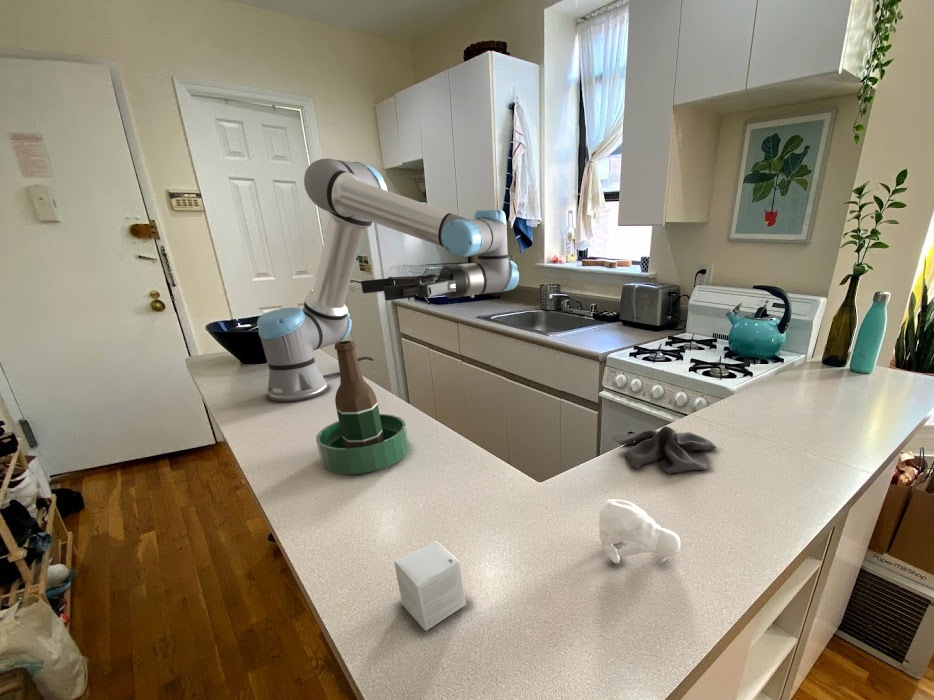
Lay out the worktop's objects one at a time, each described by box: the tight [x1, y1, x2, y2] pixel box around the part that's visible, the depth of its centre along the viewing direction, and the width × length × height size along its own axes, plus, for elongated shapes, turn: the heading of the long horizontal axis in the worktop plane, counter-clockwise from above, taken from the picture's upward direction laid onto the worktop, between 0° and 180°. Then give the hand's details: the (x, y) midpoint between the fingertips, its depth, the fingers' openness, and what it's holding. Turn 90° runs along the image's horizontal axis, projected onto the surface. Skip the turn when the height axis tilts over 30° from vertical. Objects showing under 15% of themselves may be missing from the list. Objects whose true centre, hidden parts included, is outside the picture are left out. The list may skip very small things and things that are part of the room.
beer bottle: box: [334, 340, 384, 448], centre depth 93 cm, size 8×8×24 cm
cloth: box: [611, 425, 717, 474], centre depth 97 cm, size 22×19×6 cm
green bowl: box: [315, 413, 410, 475], centre depth 97 cm, size 17×17×6 cm
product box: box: [393, 540, 467, 632], centre depth 59 cm, size 6×6×7 cm
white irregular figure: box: [598, 499, 681, 564], centre depth 67 cm, size 6×8×12 cm
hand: (372, 290), depth 100 cm, fingers open, 13 cm apart
